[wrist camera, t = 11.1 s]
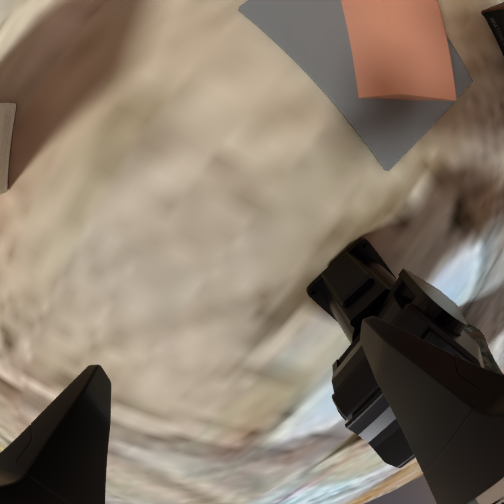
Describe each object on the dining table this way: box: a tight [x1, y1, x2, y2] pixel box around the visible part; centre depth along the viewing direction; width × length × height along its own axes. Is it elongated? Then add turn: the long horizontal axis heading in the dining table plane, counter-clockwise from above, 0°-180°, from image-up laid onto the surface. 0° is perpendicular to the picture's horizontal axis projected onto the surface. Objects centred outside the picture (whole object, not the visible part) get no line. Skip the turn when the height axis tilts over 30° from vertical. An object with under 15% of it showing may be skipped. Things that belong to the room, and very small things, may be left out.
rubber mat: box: [238, 0, 473, 171], centre depth 16 cm, size 16×14×1 cm
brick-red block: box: [341, 0, 456, 101], centre depth 13 cm, size 5×5×10 cm
